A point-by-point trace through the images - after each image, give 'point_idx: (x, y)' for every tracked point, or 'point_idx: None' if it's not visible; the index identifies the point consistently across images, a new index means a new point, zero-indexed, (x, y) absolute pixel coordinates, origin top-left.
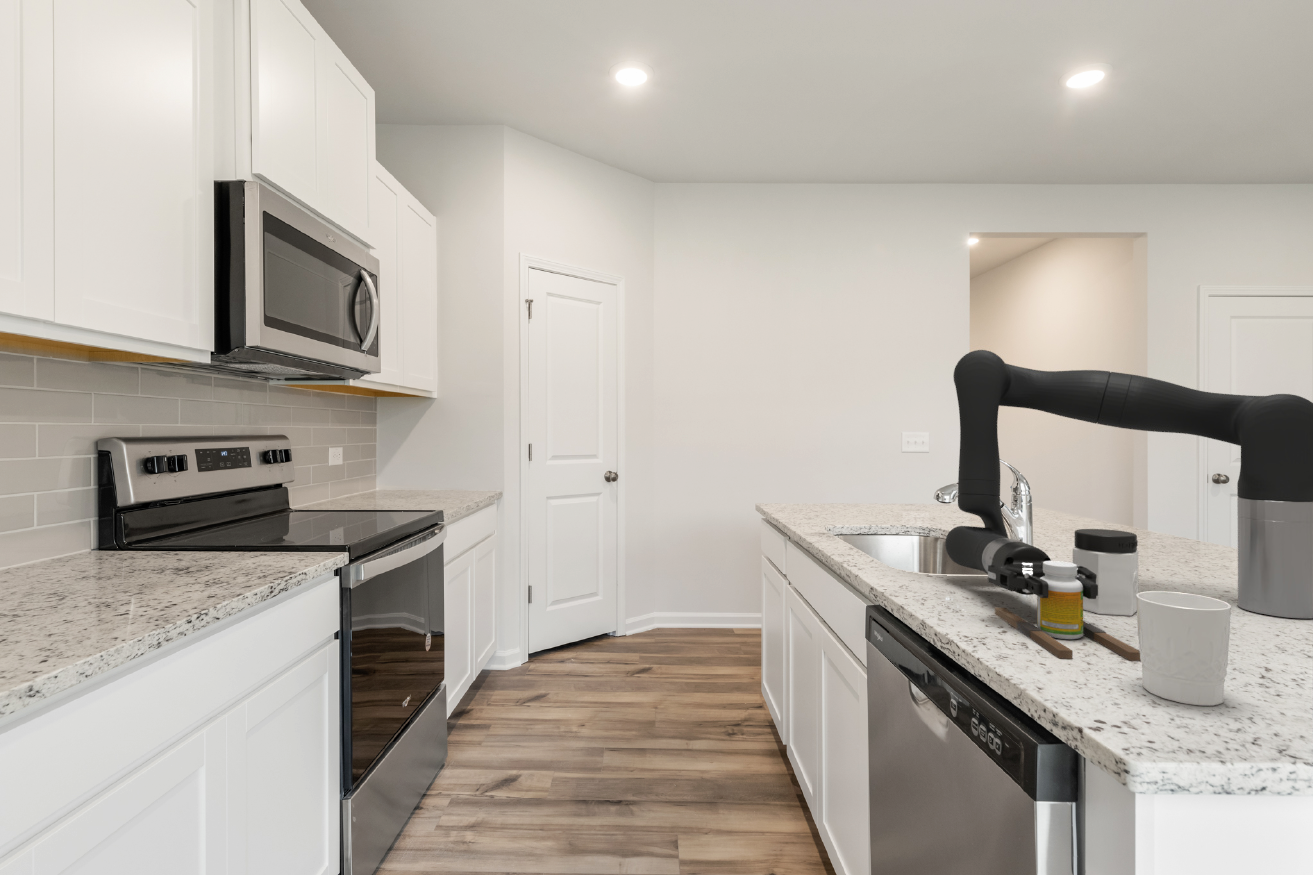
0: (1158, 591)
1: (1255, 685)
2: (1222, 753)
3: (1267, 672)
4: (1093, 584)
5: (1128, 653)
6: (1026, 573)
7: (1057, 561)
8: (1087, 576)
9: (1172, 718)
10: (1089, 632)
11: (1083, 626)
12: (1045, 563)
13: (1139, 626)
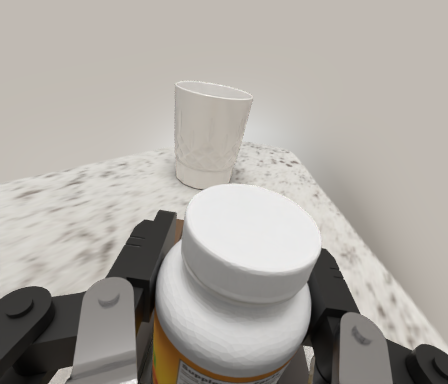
0: (212, 96)
1: (115, 175)
2: (243, 144)
3: (46, 188)
4: (167, 211)
5: (183, 224)
6: (370, 329)
7: (242, 250)
8: (51, 313)
9: (242, 161)
10: (152, 329)
11: (142, 359)
12: (315, 224)
13: (244, 129)
